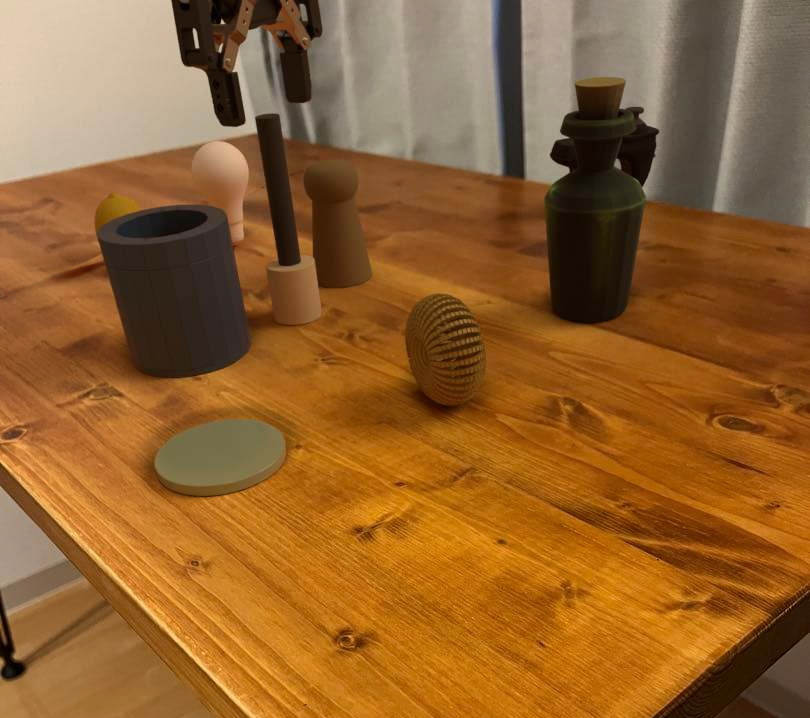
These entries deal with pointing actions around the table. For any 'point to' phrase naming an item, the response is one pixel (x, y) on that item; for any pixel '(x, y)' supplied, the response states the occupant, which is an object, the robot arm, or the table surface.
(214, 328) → the jar
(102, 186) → the table surface
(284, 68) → the robot arm
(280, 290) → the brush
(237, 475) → the coaster
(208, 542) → the table surface
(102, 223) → the lemon
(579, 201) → the potion bottle
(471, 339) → the sculpture
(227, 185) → the lightbulb
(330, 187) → the cork
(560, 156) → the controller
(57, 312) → the table surface
